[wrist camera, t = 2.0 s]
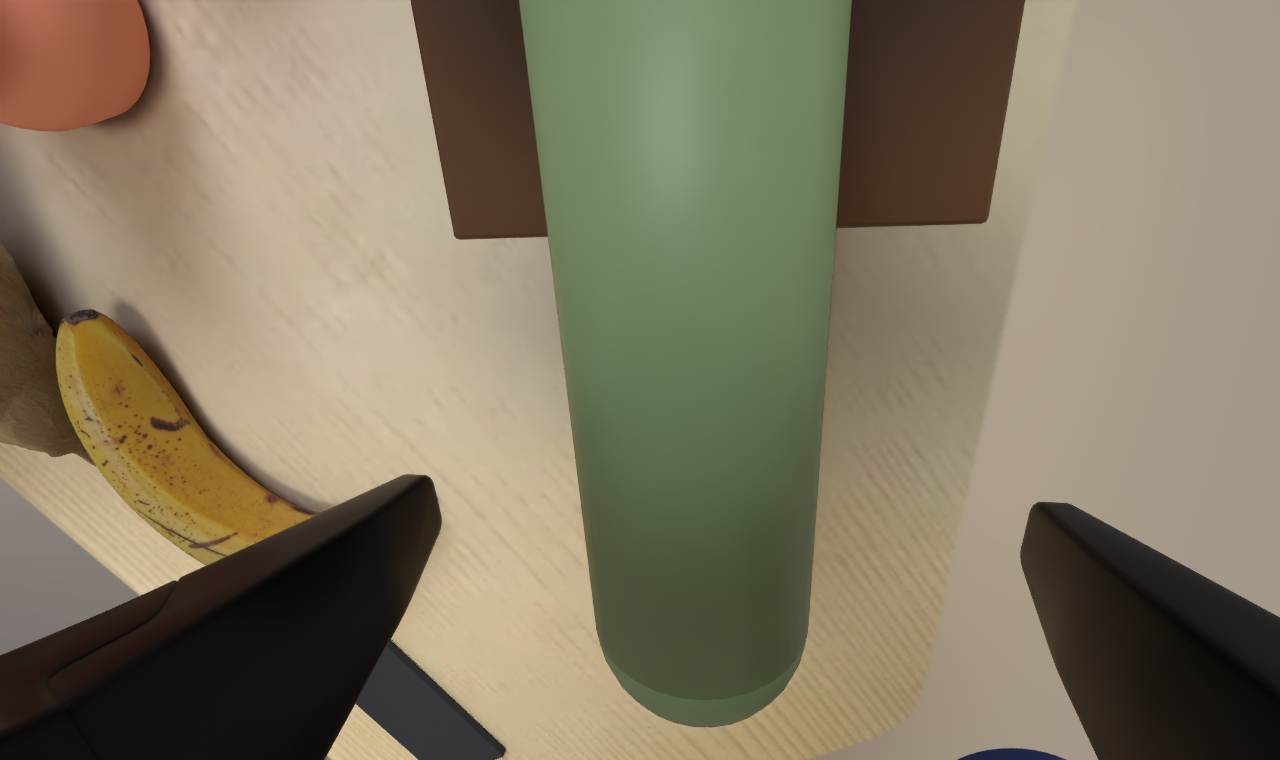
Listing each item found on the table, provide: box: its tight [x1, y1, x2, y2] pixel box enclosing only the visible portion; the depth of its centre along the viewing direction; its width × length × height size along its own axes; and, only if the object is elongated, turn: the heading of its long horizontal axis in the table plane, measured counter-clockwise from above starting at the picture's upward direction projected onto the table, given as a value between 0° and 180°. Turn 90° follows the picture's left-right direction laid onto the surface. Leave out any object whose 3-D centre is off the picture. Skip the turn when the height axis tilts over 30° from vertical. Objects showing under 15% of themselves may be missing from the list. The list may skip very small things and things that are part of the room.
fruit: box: [56, 309, 320, 566], centre depth 25 cm, size 15×9×3 cm, turn 47°
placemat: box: [355, 641, 506, 760], centre depth 32 cm, size 10×5×1 cm, turn 38°
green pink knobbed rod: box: [519, 0, 852, 727], centre depth 6 cm, size 15×8×4 cm, turn 4°
